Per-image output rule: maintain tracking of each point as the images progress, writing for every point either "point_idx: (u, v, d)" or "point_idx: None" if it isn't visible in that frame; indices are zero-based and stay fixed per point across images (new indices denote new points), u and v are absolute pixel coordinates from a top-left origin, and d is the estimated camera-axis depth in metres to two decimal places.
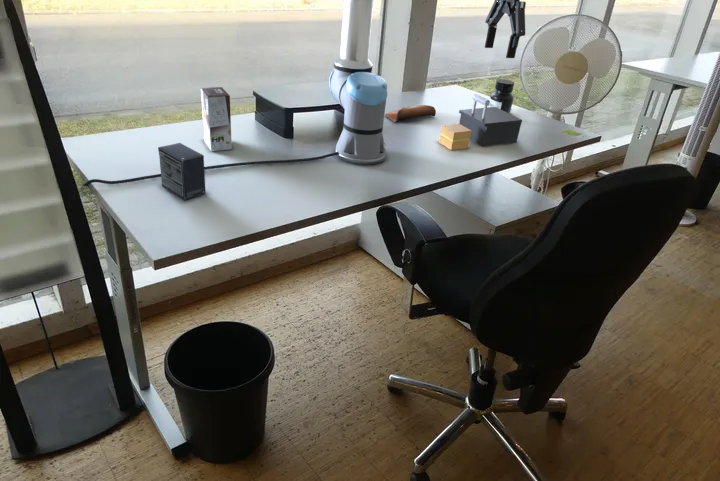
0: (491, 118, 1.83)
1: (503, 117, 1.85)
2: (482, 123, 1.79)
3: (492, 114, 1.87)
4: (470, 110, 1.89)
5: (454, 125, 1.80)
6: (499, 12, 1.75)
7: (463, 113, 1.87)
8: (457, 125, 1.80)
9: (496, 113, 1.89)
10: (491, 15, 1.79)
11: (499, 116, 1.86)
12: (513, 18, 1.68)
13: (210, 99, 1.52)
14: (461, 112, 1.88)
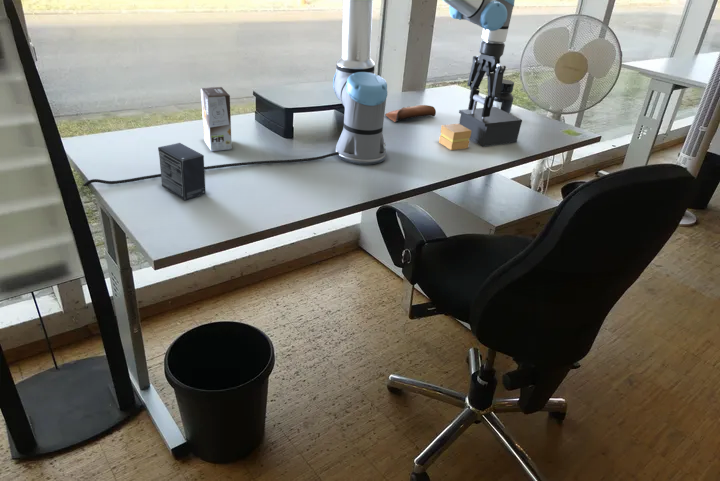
0: (491, 118, 1.83)
1: (503, 117, 1.85)
2: (482, 123, 1.79)
3: (492, 114, 1.87)
4: (470, 110, 1.89)
5: (454, 125, 1.80)
6: (480, 72, 1.78)
7: (463, 113, 1.87)
8: (457, 125, 1.80)
9: (496, 113, 1.89)
10: (472, 77, 1.82)
11: (499, 116, 1.86)
12: (491, 79, 1.75)
13: (210, 99, 1.52)
14: (461, 112, 1.88)
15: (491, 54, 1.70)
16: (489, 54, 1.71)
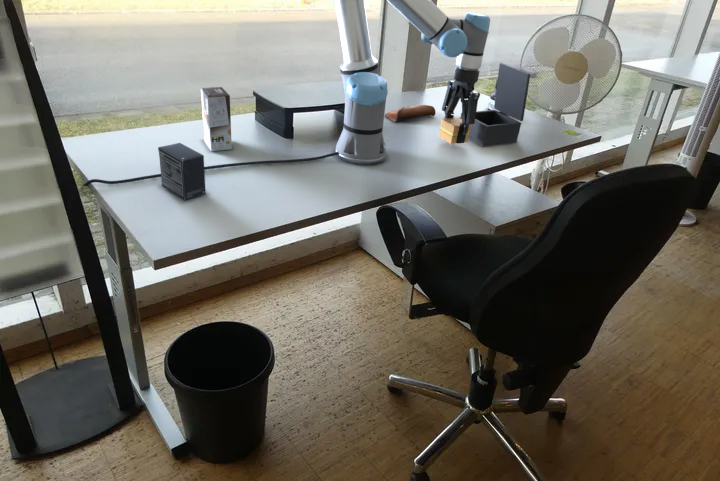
0: None
1: None
2: (527, 72, 1.77)
3: None
4: None
5: (454, 119, 1.79)
6: (455, 98, 1.75)
7: (505, 64, 1.85)
8: (457, 119, 1.79)
9: None
10: (447, 102, 1.79)
11: None
12: (465, 106, 1.71)
13: (210, 99, 1.52)
14: (503, 63, 1.86)
15: (465, 81, 1.67)
16: (463, 81, 1.67)
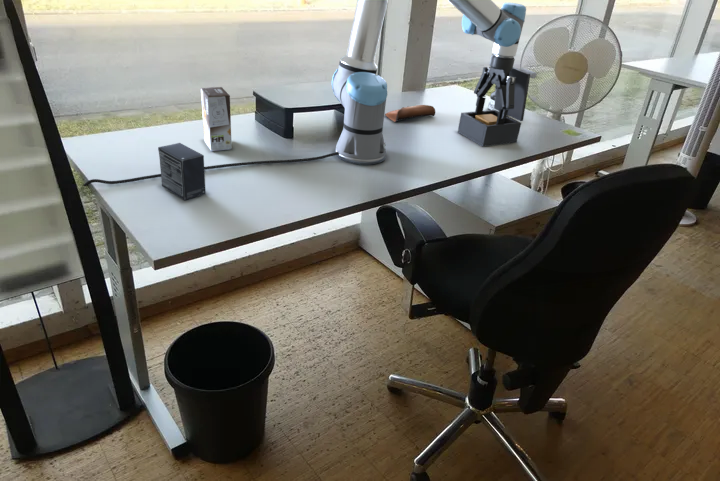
0: None
1: None
2: (527, 72, 1.77)
3: None
4: None
5: (487, 115, 1.89)
6: (489, 83, 1.83)
7: None
8: (490, 115, 1.89)
9: None
10: (480, 86, 1.87)
11: None
12: (503, 91, 1.78)
13: (210, 99, 1.52)
14: None
15: (501, 68, 1.75)
16: (499, 68, 1.75)
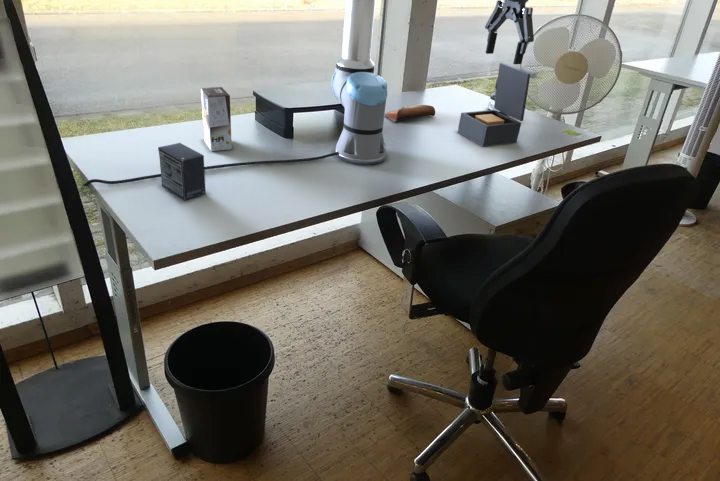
0: None
1: None
2: (527, 72, 1.77)
3: None
4: None
5: (487, 115, 1.89)
6: (502, 18, 1.73)
7: (505, 64, 1.85)
8: (490, 115, 1.89)
9: None
10: (492, 21, 1.77)
11: None
12: (520, 24, 1.67)
13: (210, 99, 1.52)
14: (503, 63, 1.86)
15: None
16: None
